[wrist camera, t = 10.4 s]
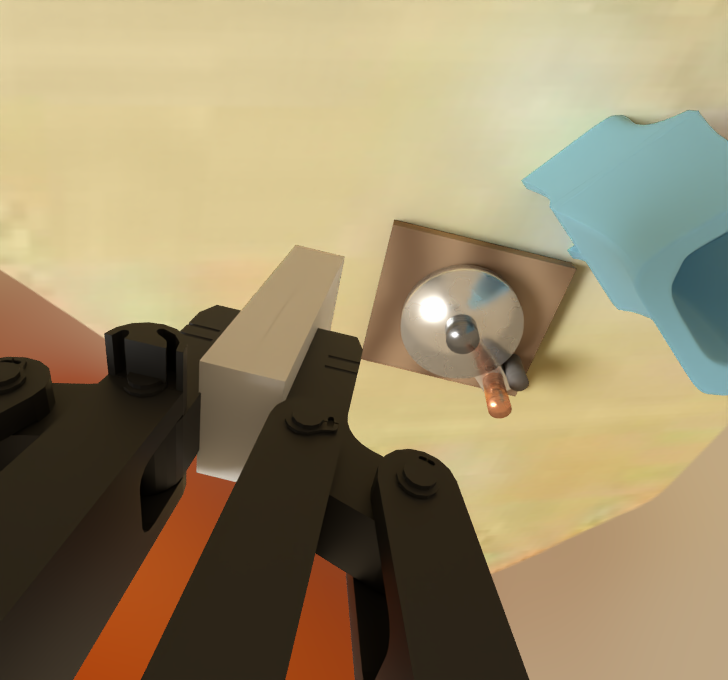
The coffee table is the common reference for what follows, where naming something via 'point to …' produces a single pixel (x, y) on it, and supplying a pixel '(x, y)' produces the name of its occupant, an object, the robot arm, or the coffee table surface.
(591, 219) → the blue tall hollow container
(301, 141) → the coffee table surface
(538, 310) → the base board
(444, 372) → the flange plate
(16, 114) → the coffee table surface
